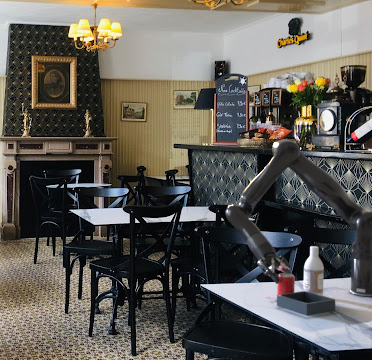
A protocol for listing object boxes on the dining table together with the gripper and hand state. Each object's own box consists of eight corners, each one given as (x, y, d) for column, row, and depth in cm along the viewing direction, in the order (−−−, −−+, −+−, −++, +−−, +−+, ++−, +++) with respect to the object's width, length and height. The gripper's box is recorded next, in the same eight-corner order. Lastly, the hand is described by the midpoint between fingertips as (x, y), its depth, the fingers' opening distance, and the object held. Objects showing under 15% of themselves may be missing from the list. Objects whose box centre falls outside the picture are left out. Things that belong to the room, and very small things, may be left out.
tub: (304, 304, 222) (304, 290, 221) (335, 313, 209) (335, 299, 209) (276, 308, 216) (277, 294, 216) (306, 318, 204) (306, 304, 204)
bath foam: (316, 301, 226) (317, 249, 225) (299, 297, 232) (300, 246, 230) (326, 298, 230) (328, 247, 228) (310, 294, 235) (311, 244, 234)
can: (285, 299, 229) (286, 272, 228) (297, 302, 223) (298, 275, 223) (273, 300, 227) (274, 273, 226) (285, 304, 221) (286, 277, 220)
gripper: (255, 242, 227) (280, 278, 218) (277, 239, 235) (303, 273, 226) (243, 254, 232) (268, 289, 223) (266, 250, 240) (290, 284, 231)
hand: (285, 281), depth 225 cm, fingers open, 8 cm apart
